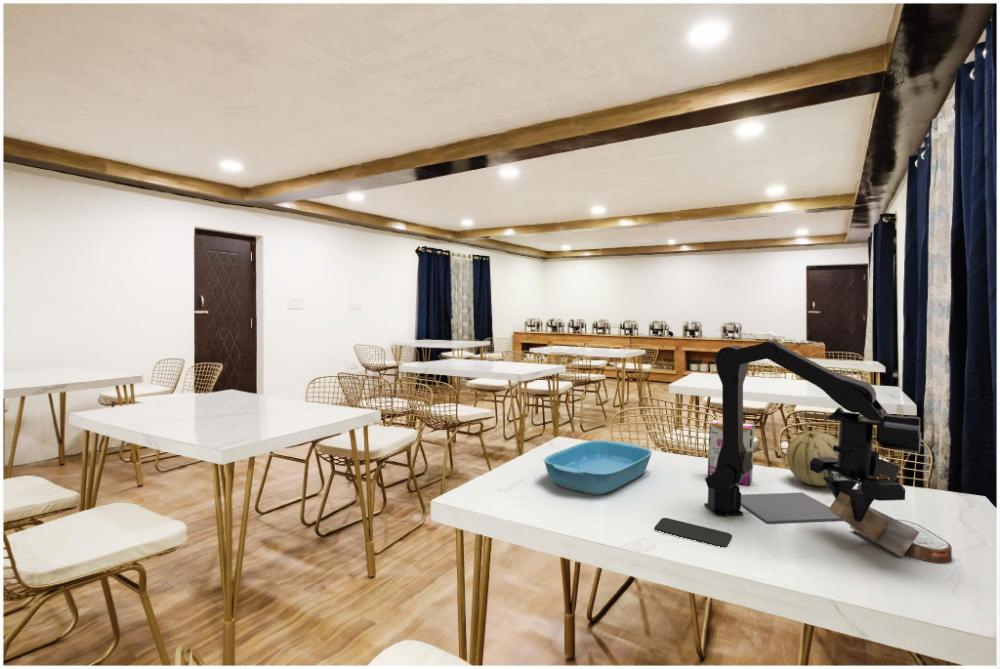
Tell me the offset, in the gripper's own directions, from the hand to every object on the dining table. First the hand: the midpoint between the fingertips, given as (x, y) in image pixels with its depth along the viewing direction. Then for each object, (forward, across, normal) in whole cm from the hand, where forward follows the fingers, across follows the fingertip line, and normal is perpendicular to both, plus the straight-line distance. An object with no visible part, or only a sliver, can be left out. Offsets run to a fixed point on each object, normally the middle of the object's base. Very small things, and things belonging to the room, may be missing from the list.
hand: (852, 518), depth 105 cm
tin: (+4, 0, -8) cm, 9 cm away
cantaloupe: (+6, +34, -18) cm, 39 cm away
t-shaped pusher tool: (+2, 0, 0) cm, 2 cm away
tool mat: (+6, +19, +1) cm, 20 cm away
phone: (+6, +8, +30) cm, 32 cm away
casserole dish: (+6, +45, +40) cm, 61 cm away
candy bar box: (+6, +39, +4) cm, 40 cm away
